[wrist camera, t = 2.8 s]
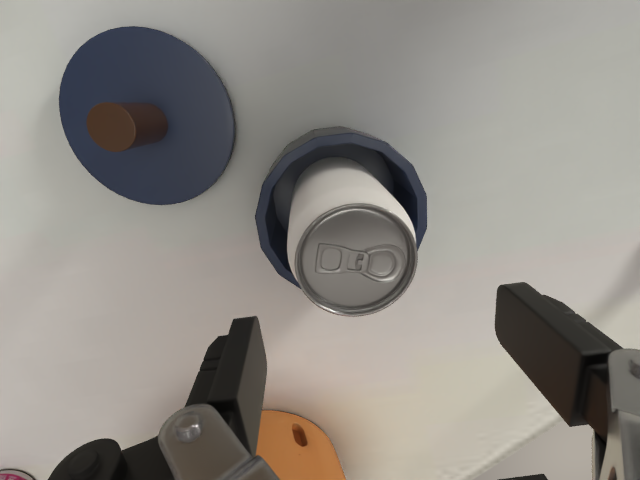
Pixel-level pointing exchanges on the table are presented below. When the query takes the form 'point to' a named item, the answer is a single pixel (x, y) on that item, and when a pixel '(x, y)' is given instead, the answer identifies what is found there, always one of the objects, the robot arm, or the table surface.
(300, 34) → the table surface
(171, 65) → the lid
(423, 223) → the pot
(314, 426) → the flower pot
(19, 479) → the pill bottle
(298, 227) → the can
